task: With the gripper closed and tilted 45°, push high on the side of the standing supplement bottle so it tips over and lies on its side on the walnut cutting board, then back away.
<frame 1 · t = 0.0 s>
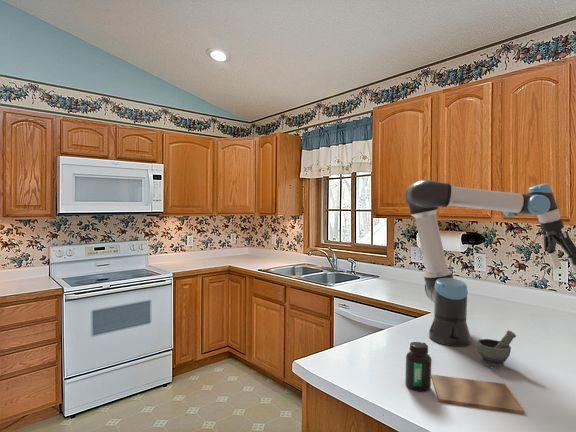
hand: (567, 270, 149), 28 cm above the counter, tool tilted 20°, fingers open, 13 cm apart
mortar and pestle: (495, 365, 120), on the counter
hand tool: (418, 363, 121), on the counter
cutting board: (473, 393, 100), on the counter
supplement bottle: (417, 387, 104), on the counter
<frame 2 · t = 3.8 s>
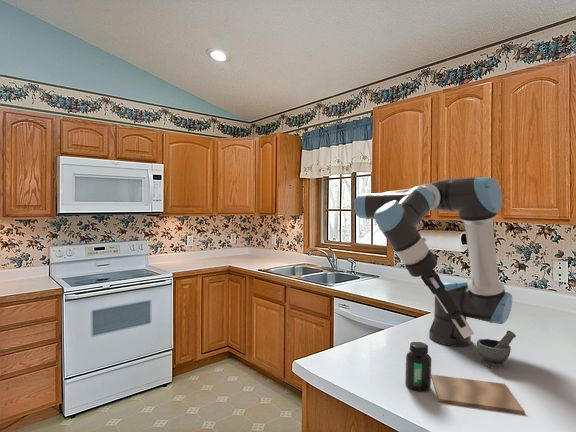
hand: (459, 322, 95), 21 cm above the counter, tool tilted 35°, fingers open, 13 cm apart
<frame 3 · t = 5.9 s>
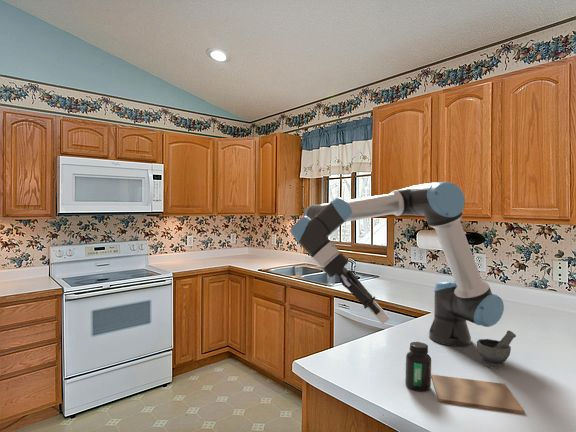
hand: (386, 320, 106), 18 cm above the counter, tool tilted 45°, fingers closed
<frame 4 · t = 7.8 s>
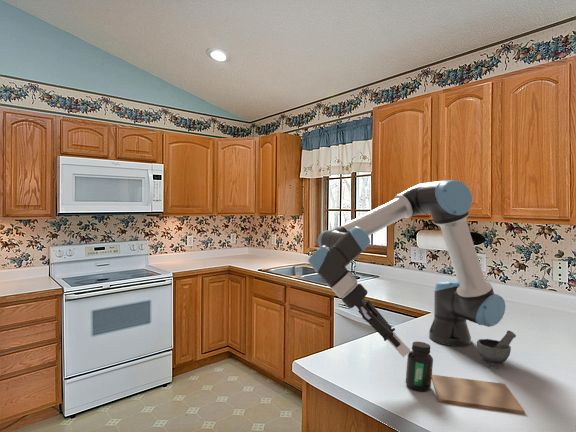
hand: (406, 353, 104), 9 cm above the counter, tool tilted 45°, fingers closed
supplement bottle: (417, 386, 104), on the counter, touching gripper
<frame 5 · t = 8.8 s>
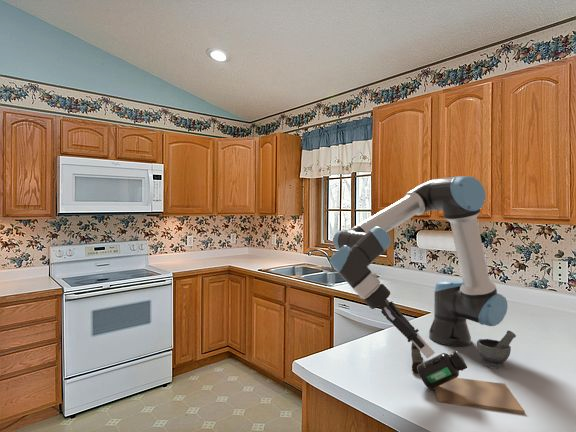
hand: (430, 354, 103), 10 cm above the counter, tool tilted 45°, fingers closed
supplement bottle: (422, 377, 103), point 3 cm above the counter, touching cutting board
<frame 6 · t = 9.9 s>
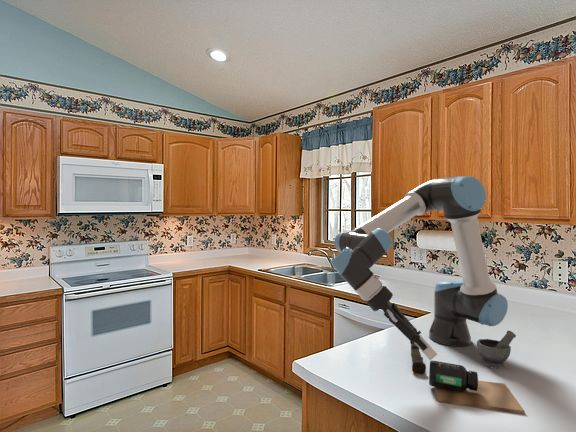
hand: (433, 356, 103), 9 cm above the counter, tool tilted 45°, fingers closed
supplement bottle: (428, 372, 103), point 4 cm above the counter, touching cutting board
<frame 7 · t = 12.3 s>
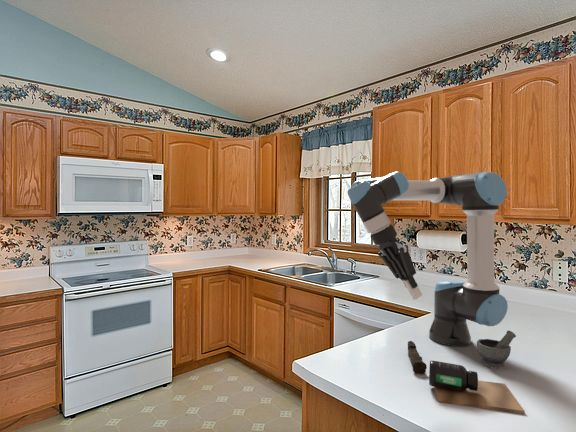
hand: (417, 297, 111), 24 cm above the counter, tool tilted 30°, fingers closed
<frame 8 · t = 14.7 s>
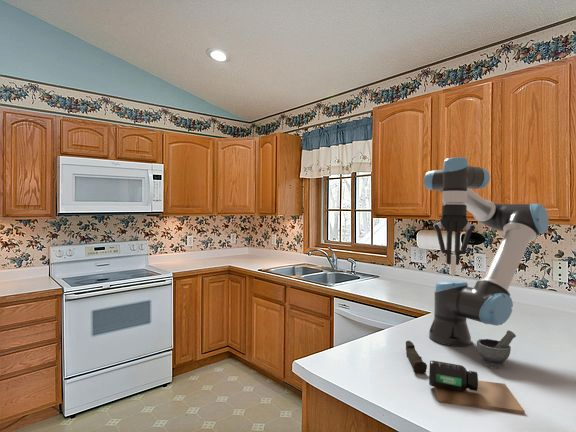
hand: (452, 274, 122), 29 cm above the counter, tool pointing down, fingers closed
at the end: supplement bottle tilted 91°; supplement bottle touching cutting board; supplement bottle inside the target area (7.1 cm from its centre), point 4.3 cm above the counter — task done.
